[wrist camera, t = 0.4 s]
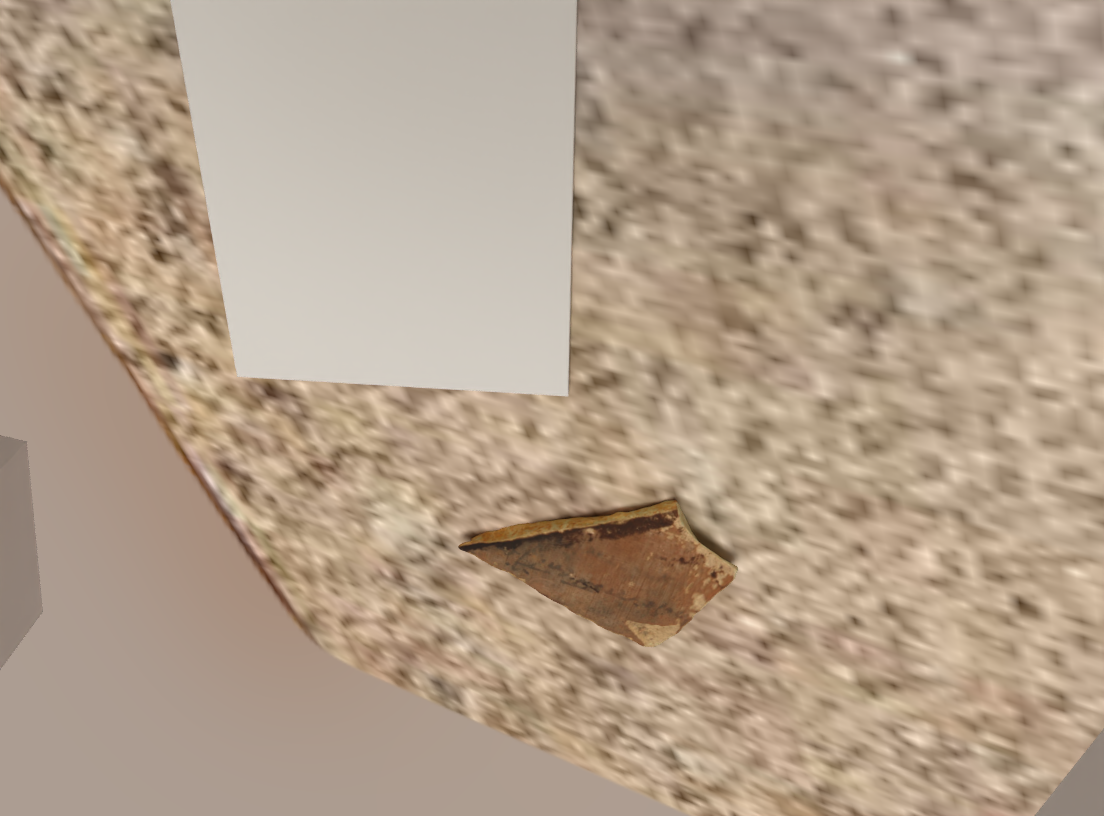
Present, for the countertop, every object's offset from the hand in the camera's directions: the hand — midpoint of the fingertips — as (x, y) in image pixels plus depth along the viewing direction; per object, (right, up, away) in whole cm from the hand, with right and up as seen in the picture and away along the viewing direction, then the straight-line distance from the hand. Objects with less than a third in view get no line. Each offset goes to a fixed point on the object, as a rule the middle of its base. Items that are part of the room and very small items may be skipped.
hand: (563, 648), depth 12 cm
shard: (+2, -5, +36) cm, 36 cm away
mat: (-6, +13, +25) cm, 29 cm away
